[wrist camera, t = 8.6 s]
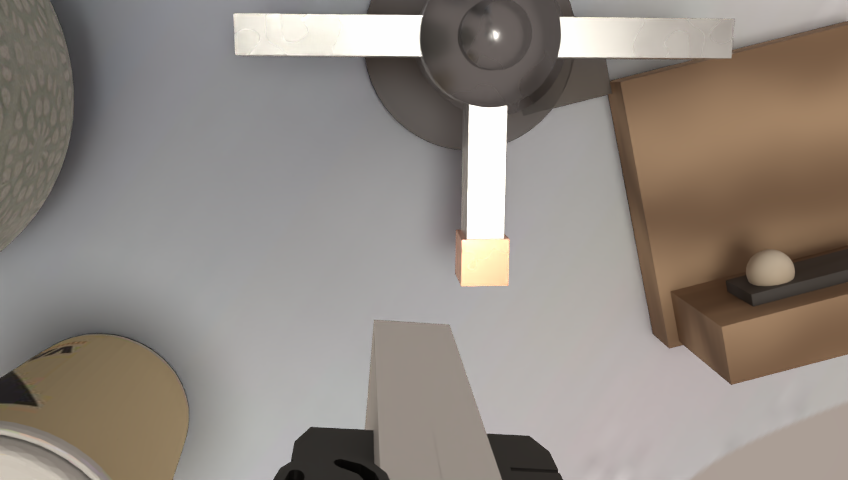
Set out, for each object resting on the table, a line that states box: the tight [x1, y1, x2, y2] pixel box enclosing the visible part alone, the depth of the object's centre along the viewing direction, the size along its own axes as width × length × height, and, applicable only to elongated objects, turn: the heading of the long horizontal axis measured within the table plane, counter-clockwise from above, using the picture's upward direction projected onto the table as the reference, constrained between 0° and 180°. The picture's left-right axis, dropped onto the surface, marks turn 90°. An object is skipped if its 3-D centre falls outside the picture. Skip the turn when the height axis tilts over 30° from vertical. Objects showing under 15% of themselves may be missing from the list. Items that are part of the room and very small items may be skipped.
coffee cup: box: [0, 334, 189, 480], centre depth 29 cm, size 9×9×12 cm
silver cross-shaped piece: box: [233, 0, 735, 286], centre depth 29 cm, size 18×18×6 cm
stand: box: [365, 0, 848, 385], centre depth 31 cm, size 20×21×7 cm
